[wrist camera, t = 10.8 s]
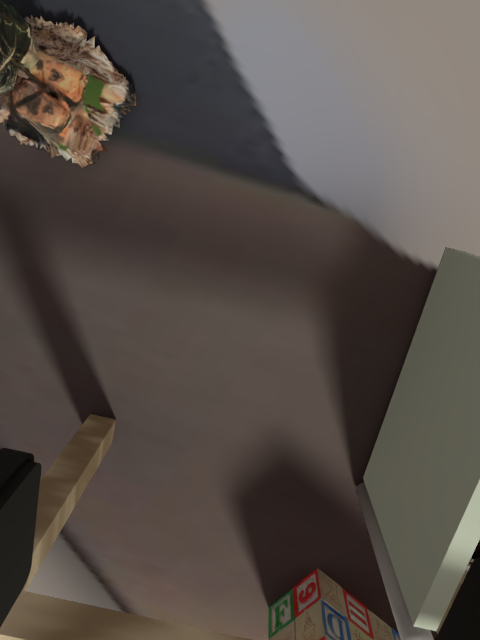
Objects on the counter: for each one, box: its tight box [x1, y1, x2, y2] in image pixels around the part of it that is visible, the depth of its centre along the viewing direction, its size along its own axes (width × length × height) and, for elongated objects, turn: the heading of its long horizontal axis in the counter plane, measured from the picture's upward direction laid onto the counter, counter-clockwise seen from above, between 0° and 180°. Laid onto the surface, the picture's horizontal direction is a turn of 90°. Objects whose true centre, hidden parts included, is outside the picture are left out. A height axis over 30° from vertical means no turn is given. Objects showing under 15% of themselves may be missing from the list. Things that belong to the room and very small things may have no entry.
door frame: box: [0, 414, 465, 640], centre depth 27 cm, size 28×2×17 cm, turn 78°
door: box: [356, 248, 480, 640], centre depth 26 cm, size 20×2×12 cm, turn 168°
